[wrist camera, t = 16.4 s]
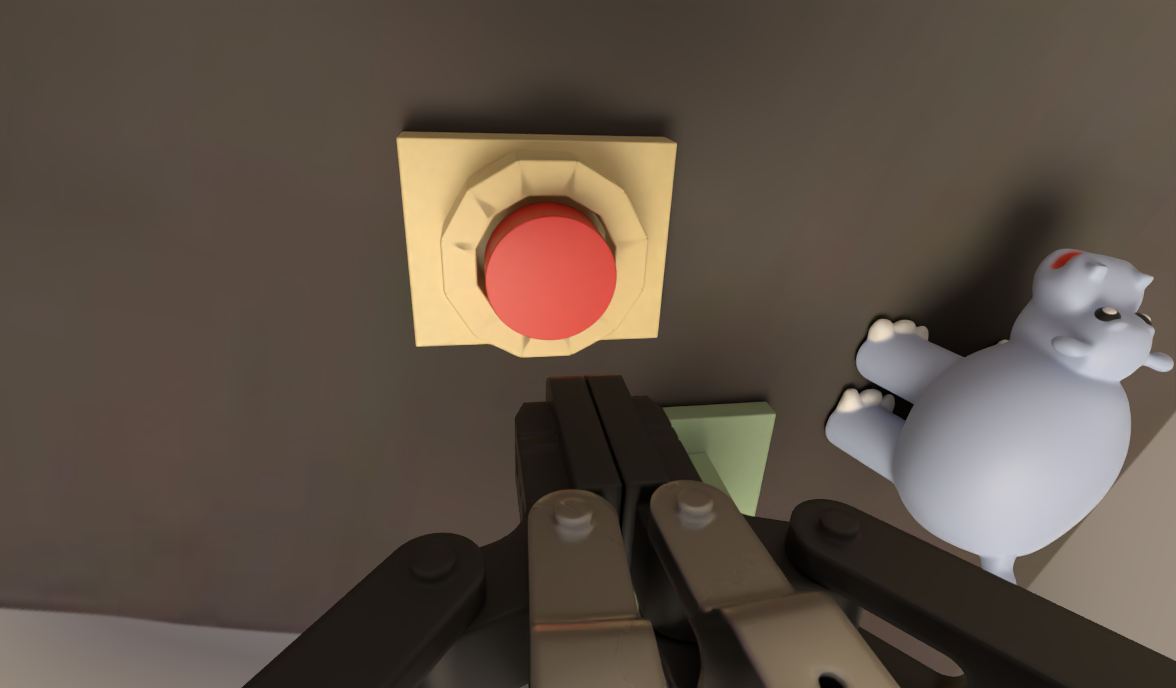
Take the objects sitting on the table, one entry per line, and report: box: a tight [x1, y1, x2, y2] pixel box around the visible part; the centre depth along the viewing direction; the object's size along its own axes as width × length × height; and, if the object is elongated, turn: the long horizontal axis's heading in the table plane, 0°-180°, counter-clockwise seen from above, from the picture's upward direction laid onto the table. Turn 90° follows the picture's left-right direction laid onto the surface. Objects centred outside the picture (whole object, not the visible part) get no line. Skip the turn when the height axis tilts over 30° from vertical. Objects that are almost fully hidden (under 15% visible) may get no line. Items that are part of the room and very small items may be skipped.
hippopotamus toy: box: [825, 249, 1174, 585], centre depth 27 cm, size 11×15×10 cm
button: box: [484, 202, 617, 340], centre depth 21 cm, size 4×4×2 cm
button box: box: [397, 131, 677, 357], centre depth 23 cm, size 10×8×4 cm
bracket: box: [634, 402, 776, 609], centre depth 26 cm, size 11×9×13 cm
